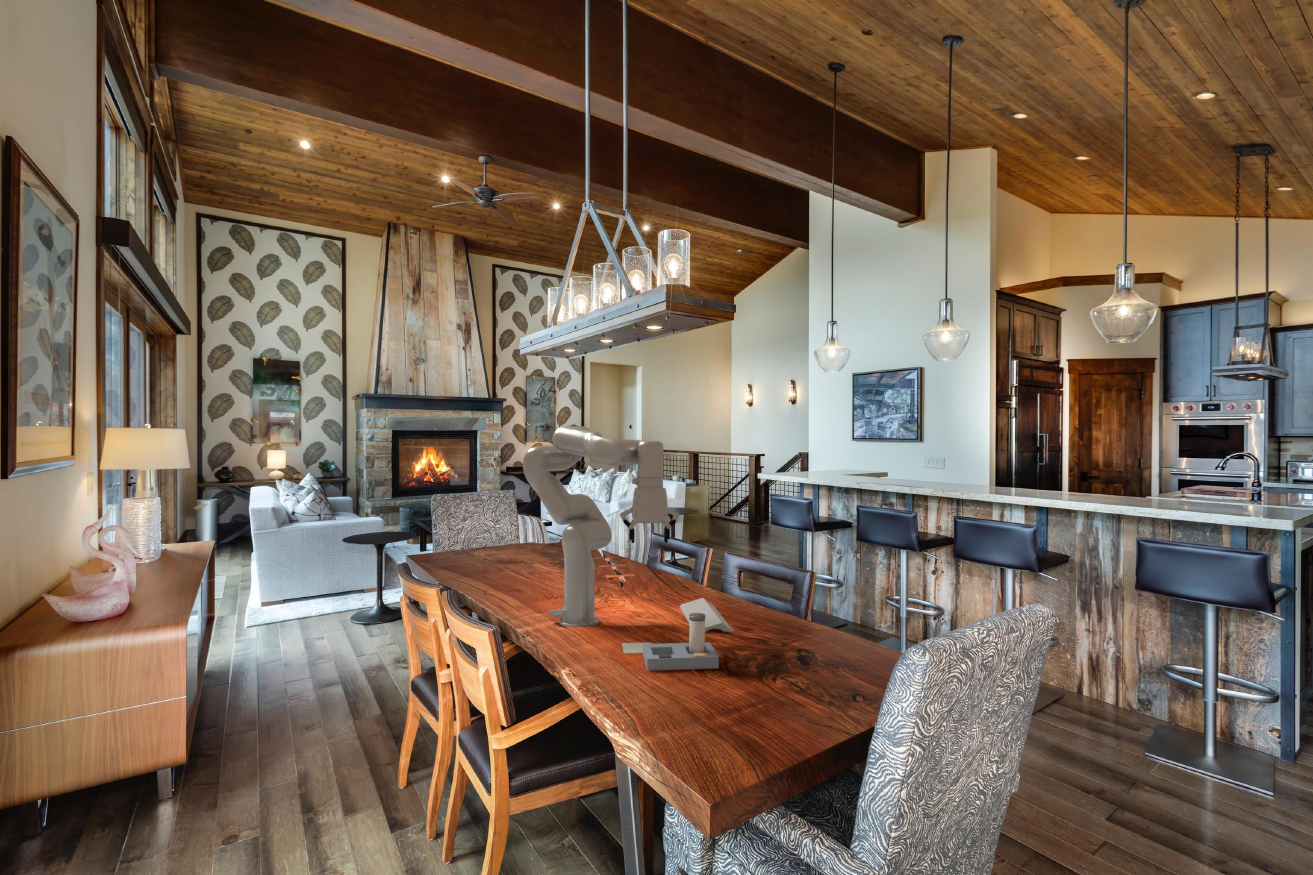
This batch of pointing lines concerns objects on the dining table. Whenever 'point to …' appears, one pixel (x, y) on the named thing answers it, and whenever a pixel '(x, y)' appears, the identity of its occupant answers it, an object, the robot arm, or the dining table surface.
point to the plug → (697, 633)
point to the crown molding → (706, 614)
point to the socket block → (678, 657)
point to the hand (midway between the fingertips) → (649, 542)
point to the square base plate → (633, 647)
